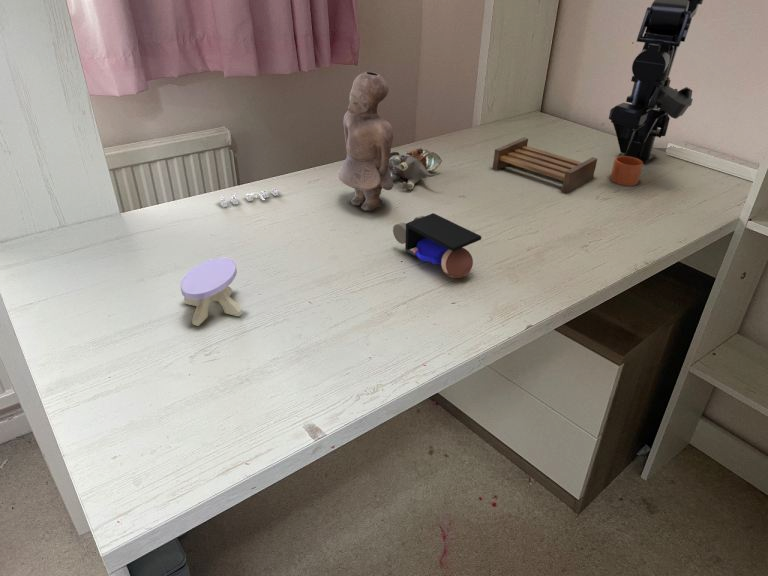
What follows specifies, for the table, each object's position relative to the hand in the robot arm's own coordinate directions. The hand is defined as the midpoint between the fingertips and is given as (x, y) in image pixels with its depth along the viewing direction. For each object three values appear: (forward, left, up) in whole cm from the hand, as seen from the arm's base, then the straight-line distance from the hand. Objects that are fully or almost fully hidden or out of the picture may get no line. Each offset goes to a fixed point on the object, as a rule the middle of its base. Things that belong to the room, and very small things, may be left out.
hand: (632, 147), depth 130 cm
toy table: (+91, -21, -8) cm, 94 cm away
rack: (+10, -14, -7) cm, 19 cm away
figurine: (+32, -34, -8) cm, 48 cm away
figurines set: (+65, -47, -8) cm, 81 cm away
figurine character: (+58, -7, -8) cm, 59 cm away
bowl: (0, 0, -7) cm, 7 cm away
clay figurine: (+50, -30, -8) cm, 59 cm away
